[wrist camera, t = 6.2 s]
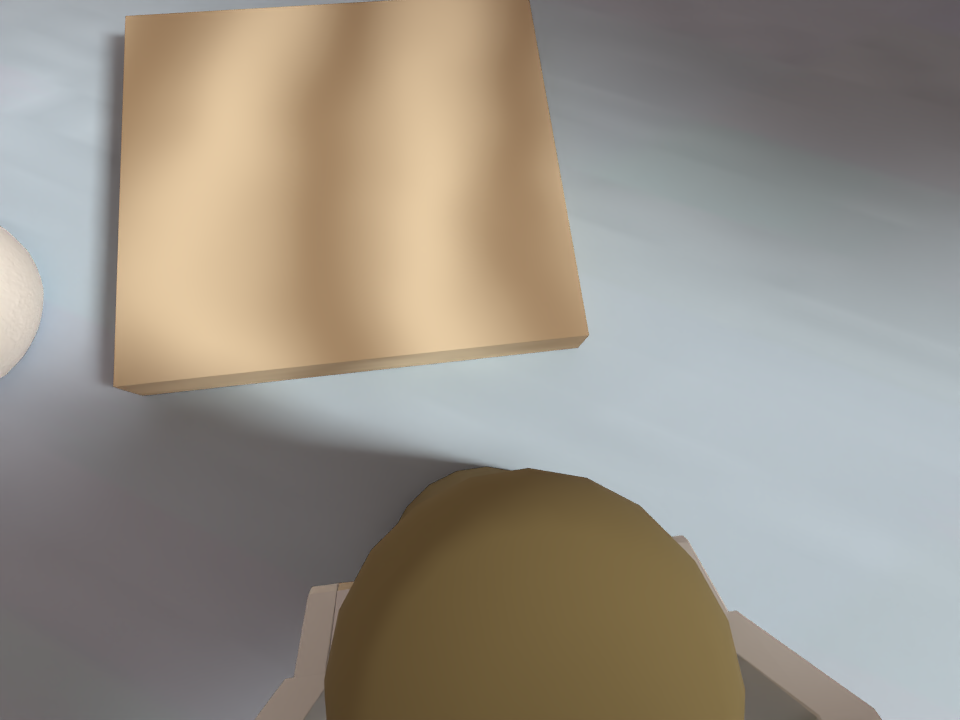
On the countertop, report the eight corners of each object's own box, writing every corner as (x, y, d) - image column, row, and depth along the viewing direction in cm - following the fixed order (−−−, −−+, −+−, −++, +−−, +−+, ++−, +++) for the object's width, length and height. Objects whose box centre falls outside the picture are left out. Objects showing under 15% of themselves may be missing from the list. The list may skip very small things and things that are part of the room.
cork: (361, 501, 16) (188, 524, 6) (547, 441, 17) (707, 360, 6) (416, 714, 15) (329, 1266, 4) (615, 639, 16) (959, 954, 5)
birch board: (522, 27, 21) (527, -8, 19) (578, 347, 18) (588, 335, 16) (149, 51, 20) (125, 15, 18) (142, 395, 17) (113, 386, 15)
